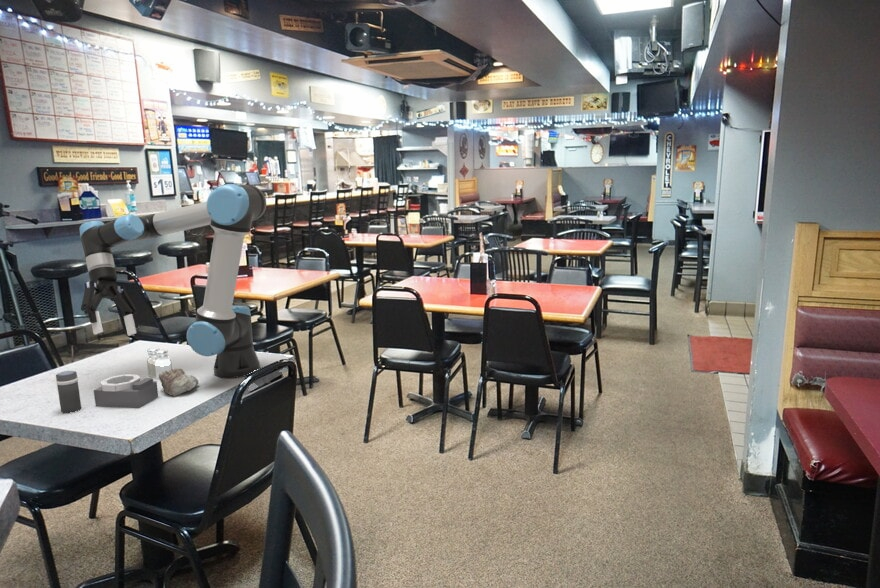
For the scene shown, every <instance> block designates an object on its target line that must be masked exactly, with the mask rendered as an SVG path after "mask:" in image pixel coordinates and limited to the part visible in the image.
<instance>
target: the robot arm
mask: <svg viewBox="0 0 880 588" xmlns="http://www.w3.org/2000/svg"><path fill="white" fill-rule="evenodd" d="M266 210H267V198H266V196H265V194H264V192H263V191H262V190H261V189H260V188H259V187H257V186H255V185H252V184H245V183H244V184H243V183H242V184H238V183H237V184H234V183H227V184H222V185H220V186H217V187H215V188H214V189H213V190H212V191H211V192H210V194H209V195H208V197H207V199H206V201H202V202H199V203H198V202H197V203H195V204H190V205H186V206H181V207H178V208H173V209H170V210H166V211H165V210H164V211H160V212H157V213H152V214H148V215H144V216H137V215H134V214H133V213H128V214H124V215H121V216H119V217H117V218H116V219H115V218H114V219H113V220H111V221H108V222H106V223H104V222H103V221H100V220H91V221H86V222H84V223H82V224H81V225H80V226H79V236H80V238H79V239H80V242H81V245H82V249H83V253H84V258H85V261H86V262H85V263H86V267H87V271H88V278H89V281H87V282H85V283H84V293H83V297H82V301H81V306H80V310H81V311H82V312H83V313H84V314H85V315H88V320H89V322H90V324H91V328H92V332H93V335H99V334H101V333H104V328H103V324H102V320H101V319H102V318H101V316H100V311H99V310H97V309H98V308H99V305H100V303H101V302H102V299H107V300H110V301H111V302H113V303H114V304H115V305H116V306H117V308H119V310H120V311H121V312H122V314H123V315H124V316H123V319H124V325H125V329H126V335H127V336H128V337H130V336H133V335H136V334H137V328H136V322H135V318H134V317H135V315H134V314H137V313H138V309H137V307H136V306H135V304H134V302H133V301H132V299H131V297H130V296H129V294H128V292H127V290H126V287H125V285H124V284H122V285H117V283H116V282H117V280H118V275H117V269H116V268H115V267H116V264H115V261H114V260H115V259H114V256H113V253H112V251H113V250H112V248H115V247H117V246H120V245H122V244H125V243H129V242H134V241H141V240H148V239H156V238H159V237H163V236H166V235H170V234H171V235H172V234H174V233H179V232H183V231H187V230H193V229H197V228H201V227H206V226H210V227H211V229H213V231H214V234H213V241H212V246H211V253H210V259H209V260H210V261H209V266H208V273H207V279H206V284H205V291H204V296H203V297H204V298H203V304H202V305H201V306H200V307H199V308H197V309H196V314H195V319H194V321H195V322H193V323H191V324H190V326H189V327H188V329H187V331H186V341H187V344H188V346H189V347H190V348H191V349H192V351H193V352H195V353H196V354H198V355H199V356H202V357H211V356H212V357H213V356H215V355H216V357H215V359H214V365H213V373H214V375H215V376H216V377H219V378H224V379H226V378H228V379H229V378H230V379H231V378H232V377H233V378H241V377H245V376H244V375H247V374H249V373H251V372H253V371H254V370H257V369H259V368H260V369H261V363H260V359H259V357H258V355H257V352H256V350H255V349H254V342H253V341H254V339H253V327H252V315H251V309H250V307H249V306H247V305H241V304H240V305H235V304H233V303H234V298H235V291H236V286H237V281H238V274H239V268H240V265H241V264H240V263H241V256H242V251H243V245H244V238H245V237H246V235H248V234H250V233H251V229H252V224H253V221H256V220H258V219H259V218H261V217H262V216H263V215H264V214H265V211H266ZM247 376H248V375H247Z"/></svg>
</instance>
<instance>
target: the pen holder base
mask: <svg viewBox="0 0 880 588" xmlns="http://www.w3.org/2000/svg"><path fill="white" fill-rule="evenodd" d="M158 391H159V390H158V383H157V381H155V380H154V378H153V377H149V378H147V377H145V378H142V379H141V377H140V376H139V375H138V374H130V373H129V374H127V373H126V374H120V375H114V376H109V377H108V378H105V379H103V380H101V381H100V386H99V387H97V388H95V389H93V397H94V403H95V405H94V406H95V407H102V408H103V407H105V408H126V409H127V408H128V409H140V408H142V407H144V406H145V405H147V404H149V403H150V402H153V401H154V400H156V399H158V398H159V392H158Z"/></svg>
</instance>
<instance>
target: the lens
mask: <svg viewBox="0 0 880 588" xmlns="http://www.w3.org/2000/svg"><path fill="white" fill-rule="evenodd" d="M55 379H56V380H55V383H56V386H57V393H58V398H59V399H58V400H59V406H60V412H63V413H62V414H64V413H67V414H71V413H70V412H74V413H76V412H75V411H77V412H79V411H81V410H82V409H81V408H82V402H81V395H80V386H79V378H78V373H77V371H75V370H66V371H65V370H64V371H60V372H59V373H57V374H55ZM80 409H81V410H80ZM78 410H79V411H78Z"/></svg>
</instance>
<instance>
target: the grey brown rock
mask: <svg viewBox="0 0 880 588" xmlns="http://www.w3.org/2000/svg"><path fill="white" fill-rule="evenodd" d="M158 380H159V381H160V383H161V387H162V389H163V391H164V392H165V393H166V394H167V395H168V394H169V395H170V396H173V397H174V396H175V397H176V396H178V395H181V394H183V393H186V392H189V391H191V390H193V388H195V387H196V386H198V385H199V379H198V378H197V377H196V376H194V375H192V374H185V371H184V369H182V368H174V369H173V368H172V369H170V370H164V371H162V372H161V373H159V374H158Z"/></svg>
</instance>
